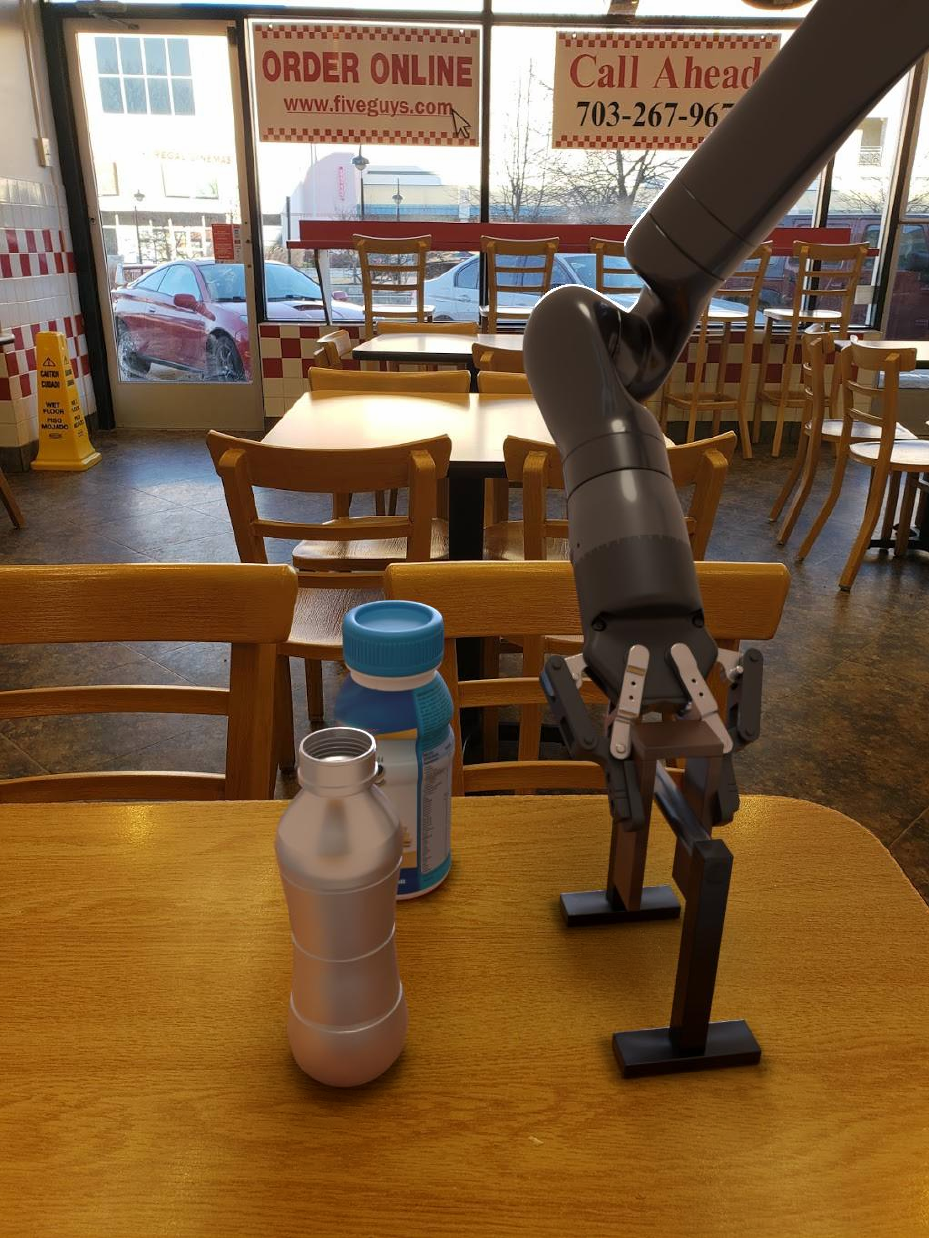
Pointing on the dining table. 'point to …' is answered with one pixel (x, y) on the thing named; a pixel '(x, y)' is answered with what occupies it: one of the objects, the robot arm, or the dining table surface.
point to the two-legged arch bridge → (697, 789)
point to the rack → (704, 915)
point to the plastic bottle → (342, 911)
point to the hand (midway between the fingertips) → (678, 825)
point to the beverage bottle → (404, 726)
